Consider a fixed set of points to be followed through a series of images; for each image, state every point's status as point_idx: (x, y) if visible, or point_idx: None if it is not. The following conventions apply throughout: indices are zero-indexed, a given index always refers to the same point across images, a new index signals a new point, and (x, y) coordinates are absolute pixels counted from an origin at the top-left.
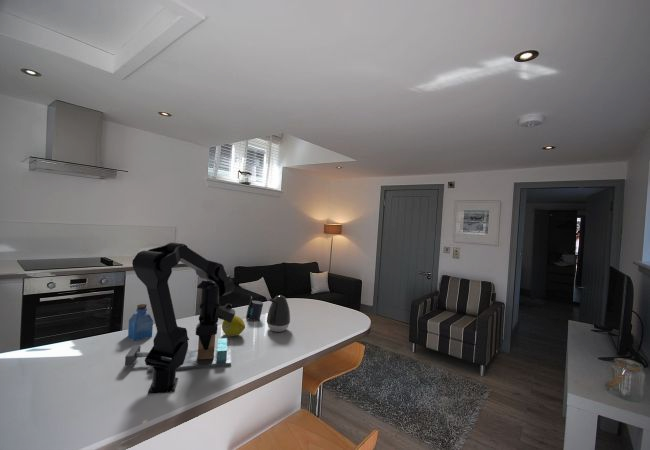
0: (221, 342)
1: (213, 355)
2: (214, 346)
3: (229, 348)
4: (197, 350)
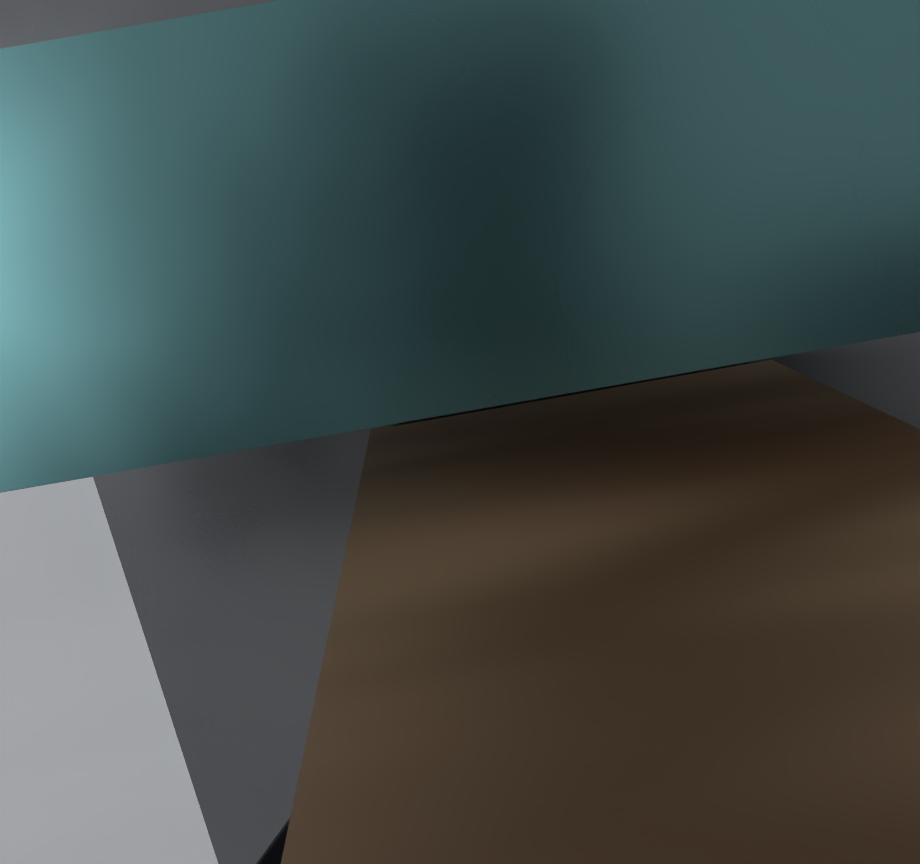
0: (403, 263)
1: (811, 386)
2: (800, 470)
3: (63, 11)
4: (287, 813)
